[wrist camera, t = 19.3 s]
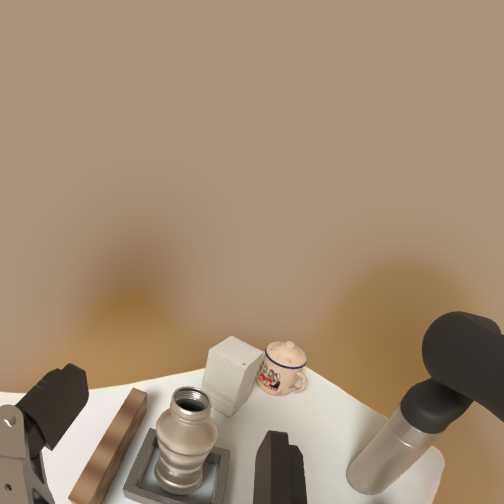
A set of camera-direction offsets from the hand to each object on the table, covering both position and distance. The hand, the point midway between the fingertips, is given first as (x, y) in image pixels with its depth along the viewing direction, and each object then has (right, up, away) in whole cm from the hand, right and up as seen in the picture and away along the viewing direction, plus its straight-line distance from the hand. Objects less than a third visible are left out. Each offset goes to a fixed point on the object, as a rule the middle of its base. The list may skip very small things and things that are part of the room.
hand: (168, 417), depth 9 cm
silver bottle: (-7, -26, +18) cm, 32 cm away
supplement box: (-2, -22, +38) cm, 45 cm away
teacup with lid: (+9, -24, +46) cm, 52 cm away
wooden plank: (-17, -23, +18) cm, 34 cm away
